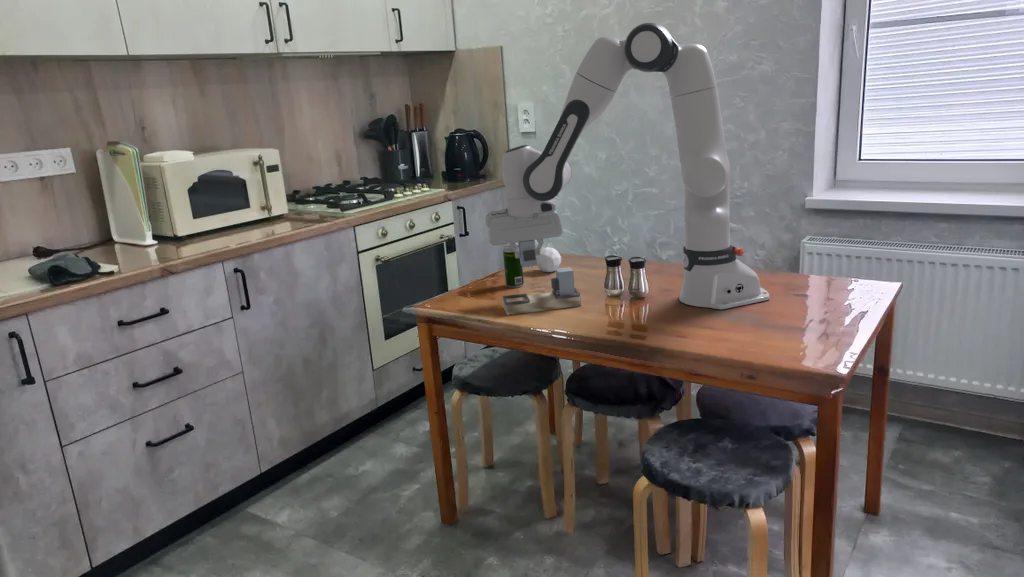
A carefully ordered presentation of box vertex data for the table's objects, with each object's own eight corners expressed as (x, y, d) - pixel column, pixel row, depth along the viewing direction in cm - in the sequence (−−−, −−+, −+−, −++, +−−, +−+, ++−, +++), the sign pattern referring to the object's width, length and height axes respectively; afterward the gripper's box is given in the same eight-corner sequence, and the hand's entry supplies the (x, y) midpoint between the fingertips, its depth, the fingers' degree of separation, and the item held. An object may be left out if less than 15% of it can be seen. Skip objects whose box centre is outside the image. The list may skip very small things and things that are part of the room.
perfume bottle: (559, 264, 216) (521, 270, 218) (564, 273, 223) (528, 279, 226) (557, 241, 218) (520, 247, 221) (562, 251, 226) (526, 257, 229)
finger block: (538, 266, 191) (535, 241, 189) (523, 268, 190) (521, 243, 189) (534, 262, 196) (532, 237, 194) (520, 264, 196) (517, 239, 194)
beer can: (527, 285, 210) (524, 246, 207) (513, 289, 207) (510, 249, 204) (516, 282, 214) (512, 243, 211) (502, 286, 211) (498, 247, 208)
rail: (575, 298, 194) (574, 286, 193) (581, 305, 187) (580, 294, 186) (503, 307, 191) (502, 295, 190) (507, 315, 185) (505, 303, 184)
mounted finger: (571, 291, 191) (570, 267, 189) (574, 295, 187) (573, 270, 185) (551, 294, 191) (550, 269, 189) (554, 298, 187) (553, 273, 185)
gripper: (485, 213, 185) (492, 264, 189) (561, 203, 188) (566, 253, 191) (483, 210, 191) (489, 259, 195) (556, 200, 194) (561, 249, 197)
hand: (528, 256), depth 193 cm, fingers closed on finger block, 4 cm apart
